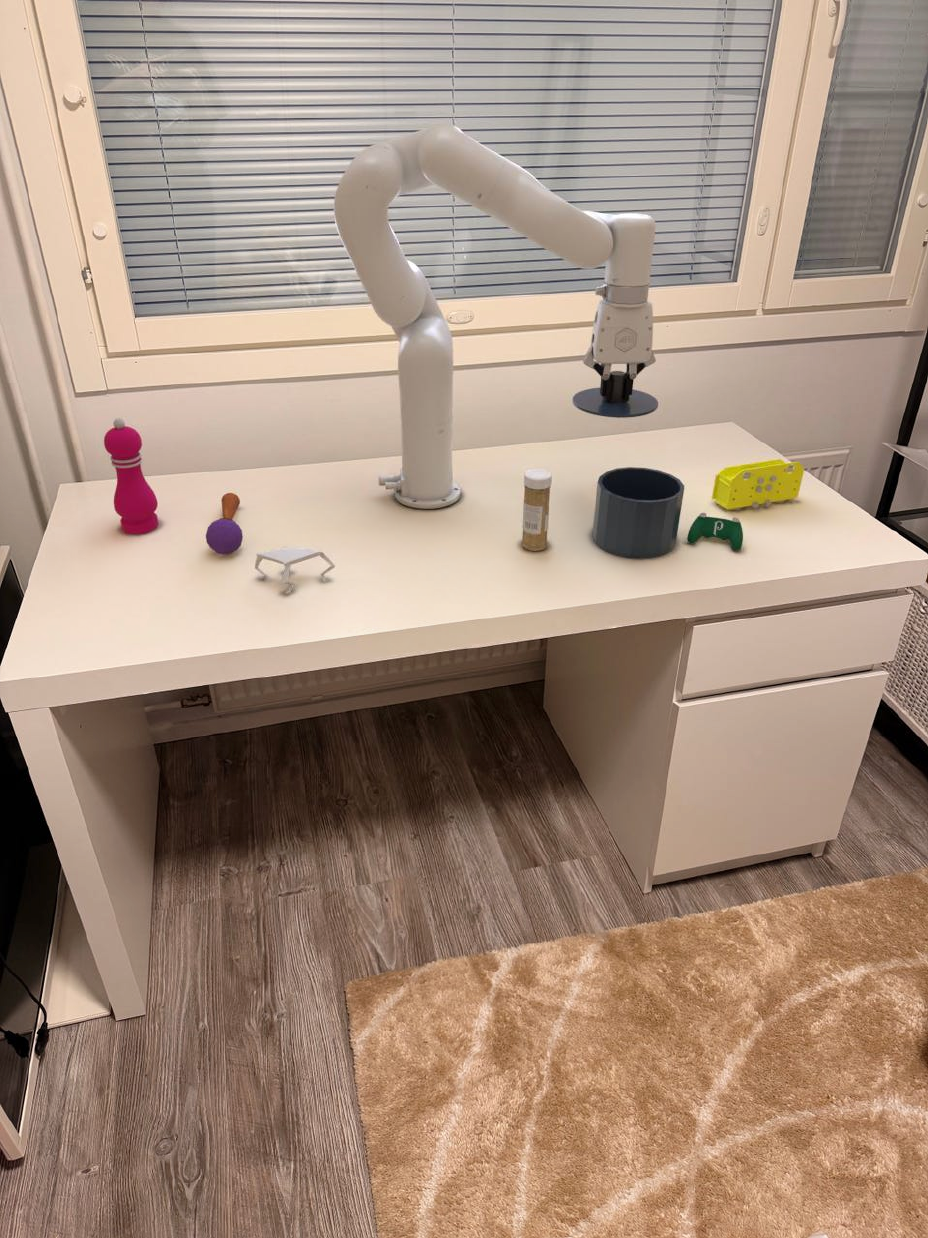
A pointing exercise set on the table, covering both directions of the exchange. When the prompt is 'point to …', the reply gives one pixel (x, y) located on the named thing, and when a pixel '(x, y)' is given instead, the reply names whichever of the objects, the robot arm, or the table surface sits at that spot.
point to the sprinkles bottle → (536, 509)
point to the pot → (637, 512)
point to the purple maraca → (225, 528)
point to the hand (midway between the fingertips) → (615, 398)
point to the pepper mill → (130, 480)
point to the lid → (615, 400)
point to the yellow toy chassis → (757, 484)
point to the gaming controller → (717, 530)
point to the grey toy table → (290, 561)
